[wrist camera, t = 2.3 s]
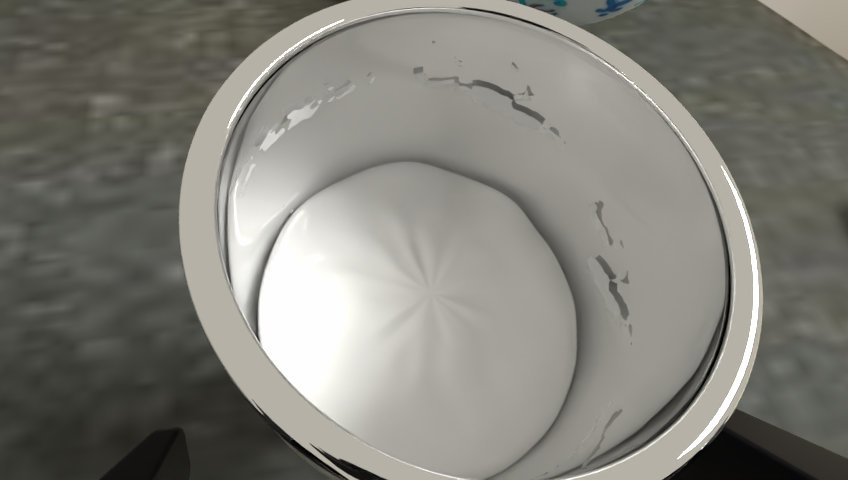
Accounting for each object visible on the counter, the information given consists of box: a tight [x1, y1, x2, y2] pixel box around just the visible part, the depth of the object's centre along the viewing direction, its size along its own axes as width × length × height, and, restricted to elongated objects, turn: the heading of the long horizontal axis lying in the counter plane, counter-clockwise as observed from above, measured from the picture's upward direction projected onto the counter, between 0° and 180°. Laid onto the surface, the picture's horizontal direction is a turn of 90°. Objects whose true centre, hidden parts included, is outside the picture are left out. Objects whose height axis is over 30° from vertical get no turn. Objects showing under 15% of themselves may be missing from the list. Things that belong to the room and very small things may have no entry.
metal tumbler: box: [178, 0, 763, 480], centre depth 12 cm, size 7×7×15 cm
